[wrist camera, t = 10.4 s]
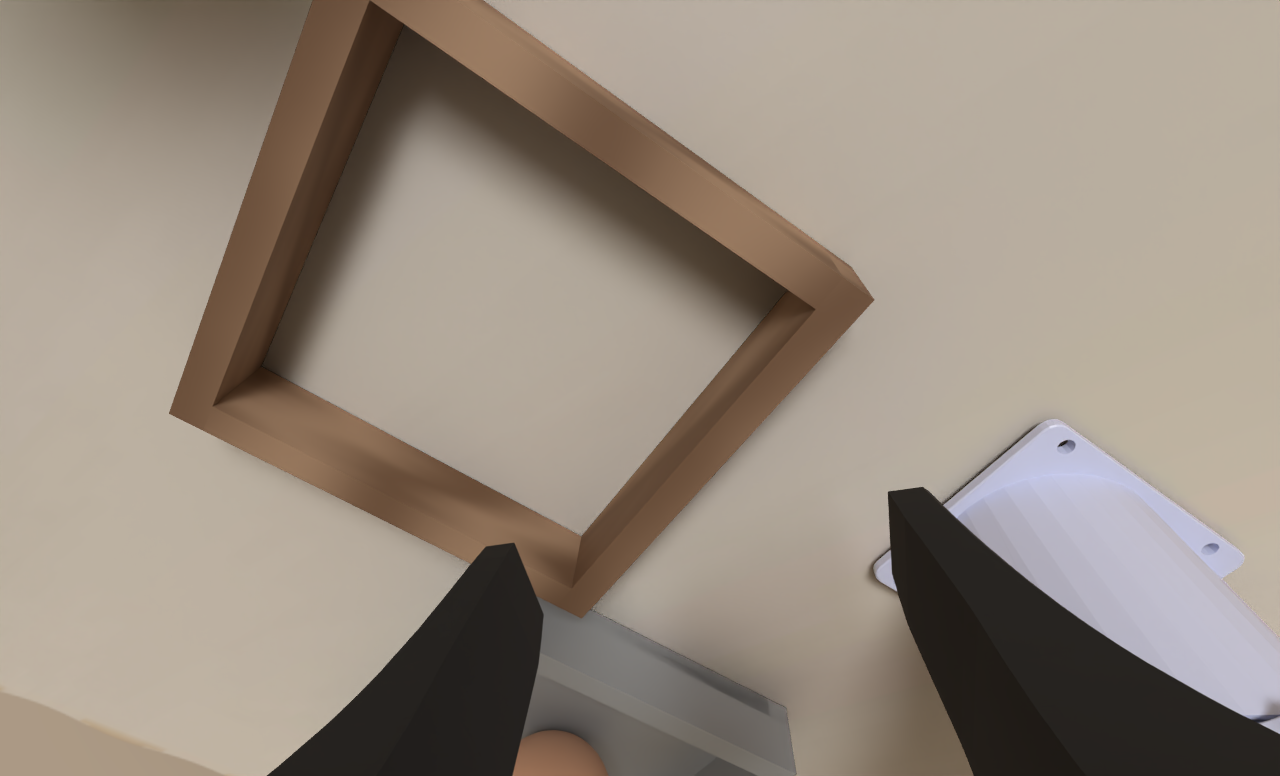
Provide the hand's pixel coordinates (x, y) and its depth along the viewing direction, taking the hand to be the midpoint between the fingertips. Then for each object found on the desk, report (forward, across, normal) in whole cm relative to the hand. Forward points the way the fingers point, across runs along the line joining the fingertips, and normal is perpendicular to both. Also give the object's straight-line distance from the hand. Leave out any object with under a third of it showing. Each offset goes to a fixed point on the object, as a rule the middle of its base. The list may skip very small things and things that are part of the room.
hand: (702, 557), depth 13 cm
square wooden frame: (+8, +5, -2) cm, 10 cm away
